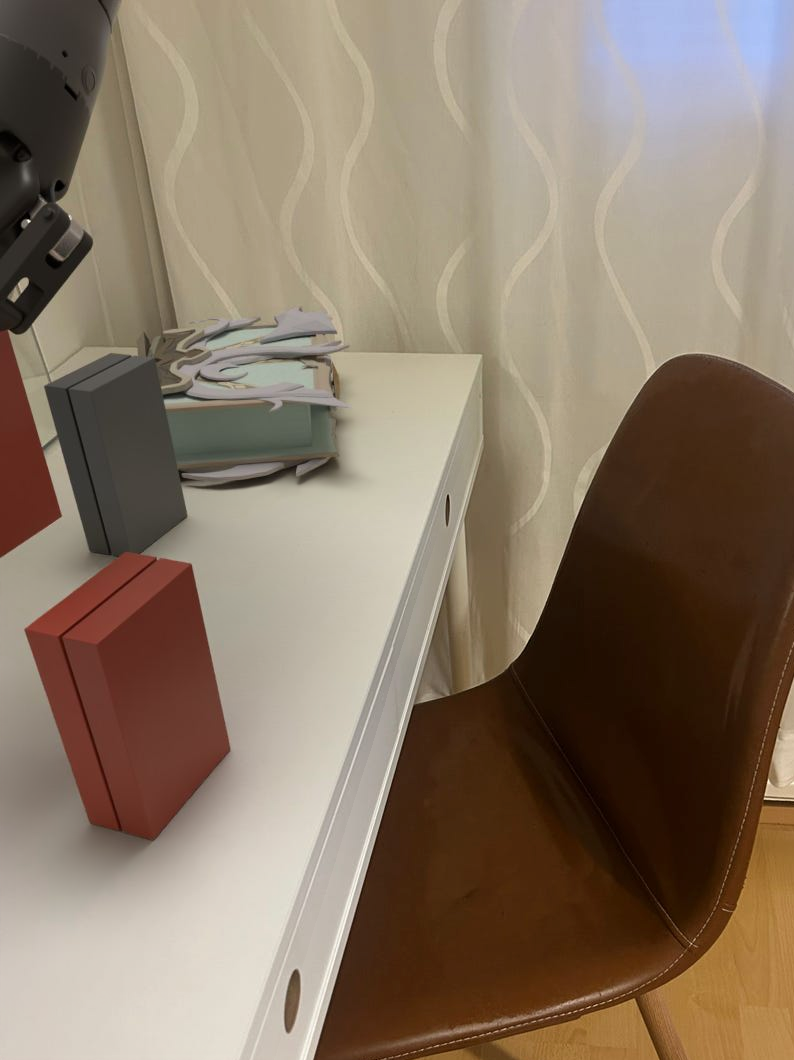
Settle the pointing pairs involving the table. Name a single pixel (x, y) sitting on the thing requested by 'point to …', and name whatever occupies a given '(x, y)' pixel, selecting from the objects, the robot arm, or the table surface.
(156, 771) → the red books
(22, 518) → the red book
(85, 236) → the robot arm
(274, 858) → the table surface
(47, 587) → the table surface
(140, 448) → the grey books
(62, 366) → the table surface
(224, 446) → the ornate book
